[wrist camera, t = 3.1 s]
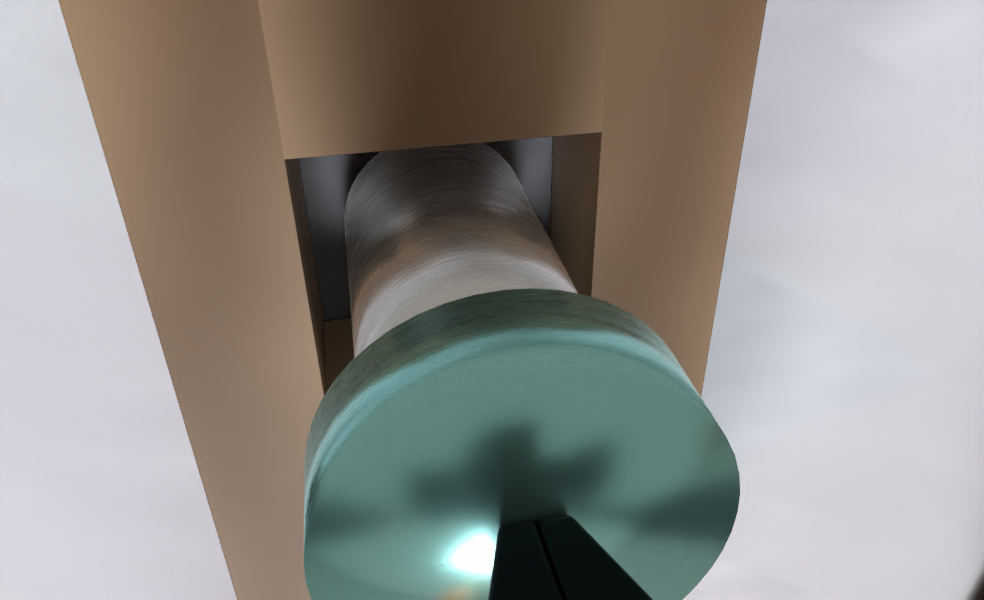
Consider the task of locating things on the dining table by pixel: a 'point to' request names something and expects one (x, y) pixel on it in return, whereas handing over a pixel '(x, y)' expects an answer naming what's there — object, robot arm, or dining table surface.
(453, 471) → the teal plug
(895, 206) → the dining table surface
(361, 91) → the socket block
